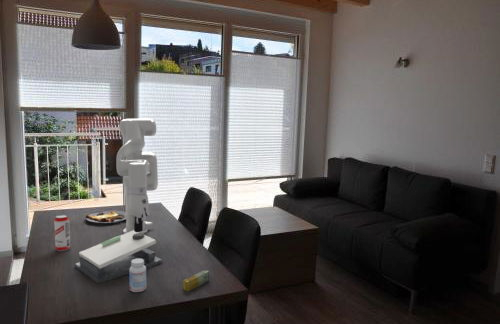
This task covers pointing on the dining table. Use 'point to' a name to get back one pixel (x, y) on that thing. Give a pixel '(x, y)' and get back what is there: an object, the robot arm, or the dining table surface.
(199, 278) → the medication box
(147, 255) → the level stand
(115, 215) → the food plate
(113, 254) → the board
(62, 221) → the beer can
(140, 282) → the pill bottle
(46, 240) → the dining table surface
